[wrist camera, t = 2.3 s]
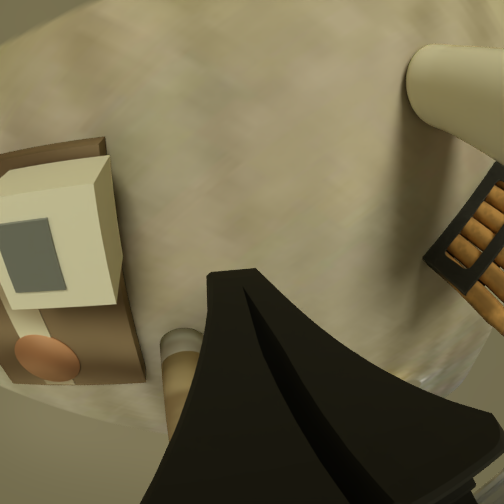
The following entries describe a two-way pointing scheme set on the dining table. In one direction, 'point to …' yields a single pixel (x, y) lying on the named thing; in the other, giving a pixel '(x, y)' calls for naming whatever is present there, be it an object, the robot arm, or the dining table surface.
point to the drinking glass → (461, 93)
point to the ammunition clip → (477, 263)
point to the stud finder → (59, 235)
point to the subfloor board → (68, 315)
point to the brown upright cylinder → (178, 370)
